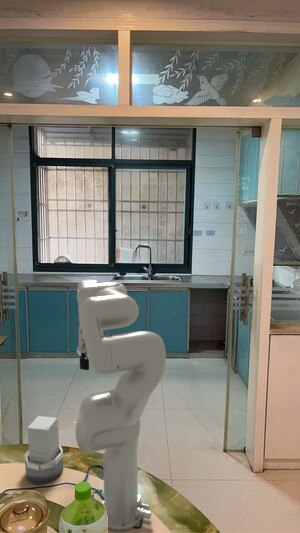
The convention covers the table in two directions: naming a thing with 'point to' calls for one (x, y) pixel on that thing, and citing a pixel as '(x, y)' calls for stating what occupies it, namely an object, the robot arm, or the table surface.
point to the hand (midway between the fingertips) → (91, 363)
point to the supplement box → (43, 439)
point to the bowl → (44, 469)
